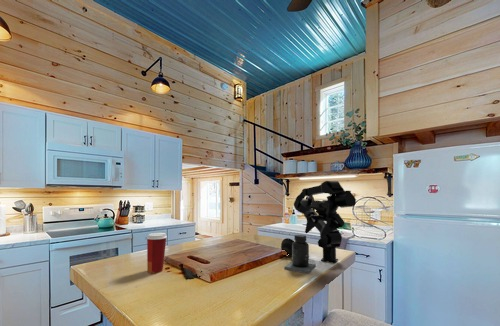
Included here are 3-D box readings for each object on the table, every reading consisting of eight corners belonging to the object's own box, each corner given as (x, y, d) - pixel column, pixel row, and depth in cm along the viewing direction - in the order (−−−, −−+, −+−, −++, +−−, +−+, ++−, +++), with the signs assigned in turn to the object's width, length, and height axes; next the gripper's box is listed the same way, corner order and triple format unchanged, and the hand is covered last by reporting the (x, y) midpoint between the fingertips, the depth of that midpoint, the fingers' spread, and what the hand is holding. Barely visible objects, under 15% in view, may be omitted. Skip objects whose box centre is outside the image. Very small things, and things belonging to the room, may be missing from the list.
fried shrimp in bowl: (273, 246, 119) (287, 229, 134) (284, 267, 118) (298, 248, 133) (288, 241, 113) (301, 224, 128) (300, 263, 113) (312, 243, 128)
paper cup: (168, 268, 99) (170, 232, 101) (160, 274, 92) (162, 236, 93) (150, 267, 100) (152, 232, 101) (140, 273, 92) (142, 235, 94)
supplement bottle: (310, 268, 98) (310, 237, 99) (293, 267, 98) (293, 237, 99) (306, 262, 105) (306, 234, 106) (290, 262, 105) (290, 233, 106)
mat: (293, 262, 108) (292, 260, 108) (315, 266, 103) (315, 264, 103) (284, 269, 100) (284, 266, 100) (308, 273, 94) (308, 270, 95)
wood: (207, 278, 89) (207, 270, 90) (186, 281, 87) (186, 272, 87) (197, 262, 110) (197, 255, 110) (180, 263, 107) (180, 256, 107)
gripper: (306, 194, 116) (288, 219, 109) (338, 193, 100) (319, 222, 93) (319, 210, 119) (302, 235, 112) (352, 212, 103) (334, 242, 96)
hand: (313, 233), depth 103 cm, fingers open, 9 cm apart
